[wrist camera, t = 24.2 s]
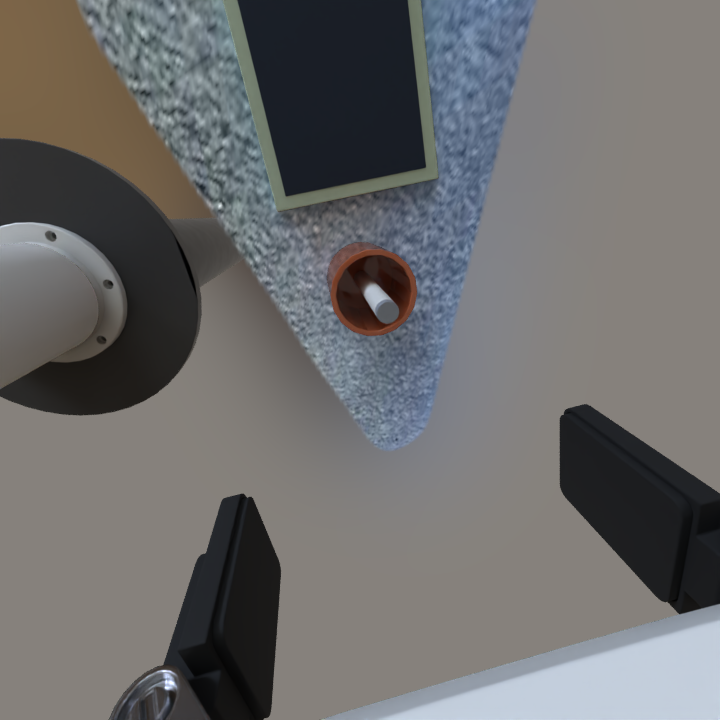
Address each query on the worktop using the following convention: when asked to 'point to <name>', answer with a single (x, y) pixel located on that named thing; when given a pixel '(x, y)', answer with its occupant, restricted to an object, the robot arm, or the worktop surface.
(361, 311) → the pen cup
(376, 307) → the stylus
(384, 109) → the tablet
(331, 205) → the worktop surface
